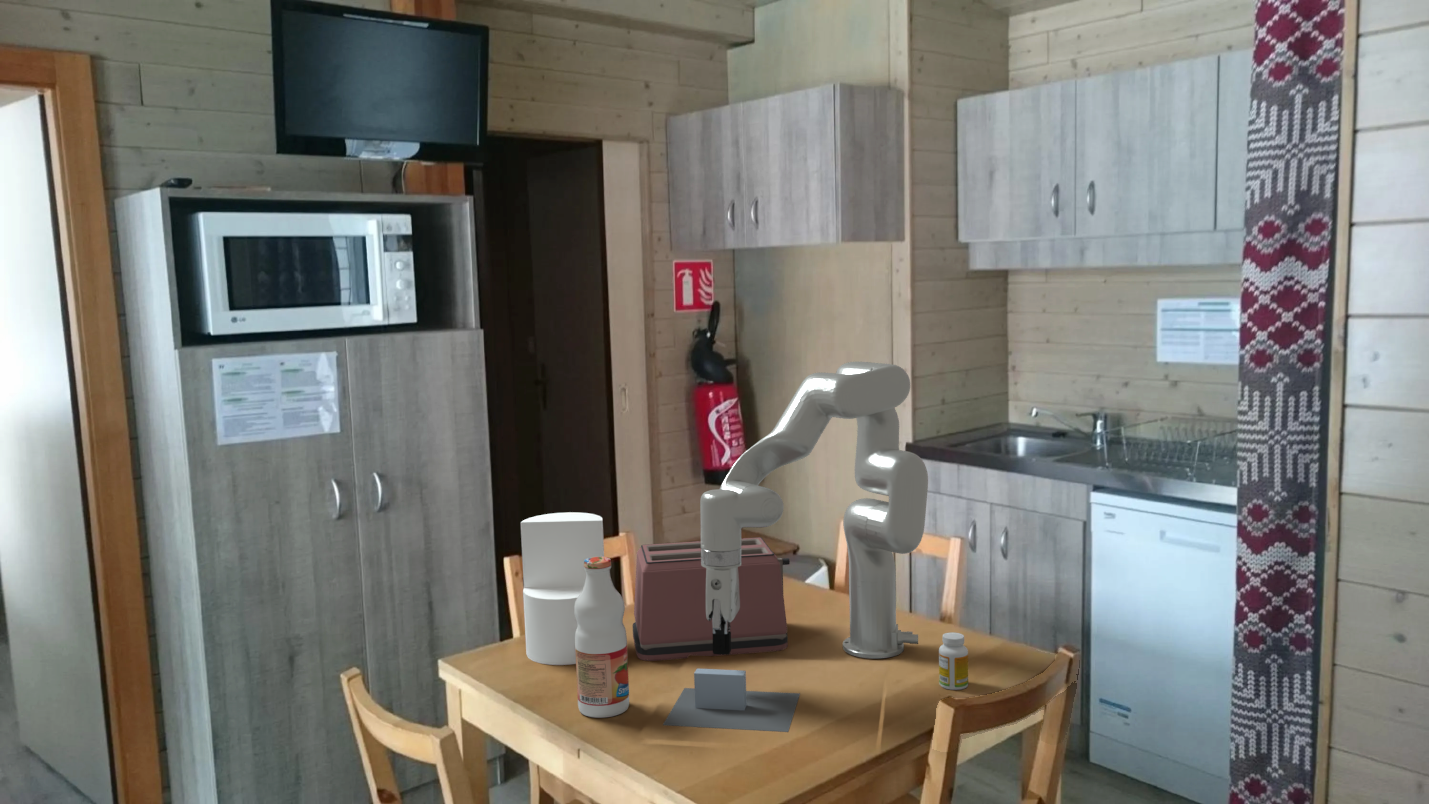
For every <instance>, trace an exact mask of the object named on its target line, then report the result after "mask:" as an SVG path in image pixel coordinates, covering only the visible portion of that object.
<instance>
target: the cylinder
mask: <svg viewBox="0 0 1429 804" xmlns="http://www.w3.org/2000/svg"><path fill="white" fill-rule="evenodd" d="M603 522H604V521H603V517H602V516H601V515H598V514H595V513H588V512H573V511H572V512H571V511H569V512H554V513H552V512H551V513H547V514H546V513H544V514H541V515H535V516H532V517H528V518H526V519H524V520H523V519H522V521H520V538H521V540H520V542H521V558H522V561H521V562H522V575H523V576H522V577H523V580H522V581H523V589H522V595H523V614H524V633H525V634H524V636H525V650H526V651H525V653H526V656H527V658H528V659H529V660H531V661H532V662H535V663H538V664H542V665H550V666H552V665H553V666H564V665H565V666H567V665H576V652H575V632H576V629H577V626H578V623H577V620H576V617H575V612H574V606H575V601H576V599H577V598H578V596H579V595H580V593H581V592H582V590H583V587H584V584H585V580H586V571H585V569H584V561H585V560H586V559H588V558H591V557H605V545H604V543H605V542H604V523H603Z"/></svg>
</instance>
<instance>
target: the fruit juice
mask: <svg viewBox="0 0 1429 804" xmlns="http://www.w3.org/2000/svg"><path fill="white" fill-rule="evenodd" d="M611 568H612V560H611V558H610V557H607V556H604V557H591V558H588V559H586V560H585V561H584V569H585V571H586V580H585V584H584V587H583V590H582V592H581V593H580V595H579V596H578V598H577V599H576V601H575V606H574V612H575V617H576V620H577V623H578V626H577V629H576V632H575V652H576V664H575V668H576V669H575V670H576V690H577V707H578V710H579V712H580V714H581V715H584V716H586V717H589V718H596V719H598V718H602V719H603V718H610V717H611V718H612V717H615V716H619V715H621V714H623V713H625V712H626V711H627V710H628V708H629V706H630V684H629V682H630V680H629V660H628V638H627V630H626V627H625V625H624V622H623V619H624V615H625V609H626V607H625V600H624V599H623V597H622V595H621V594H620V593H619V591H618V590H617V589H616V587H615V586H614V583H613V580H612V578H611Z"/></svg>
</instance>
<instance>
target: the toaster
mask: <svg viewBox="0 0 1429 804" xmlns="http://www.w3.org/2000/svg"><path fill="white" fill-rule="evenodd" d="M790 564H791V562H790V558H789V557H785V558H782V557H778V556H777V555H776V554H775V553H774V551H772V550H771V548H770V547H769V546H768V544H767V543H766V542H765V540H764V539H763V537H761V536H759V537H744V538H742V537H741V566H739V567H738V574H739V593H740V609H739V611H738V613H737V615H736V616H735V618H734V619H733V621H731V629H730V631H731V652H730V654H729V655H728V656H730V655H746V654H756V653H769V652H770V653H771V652H780V651H784V650H785V649H786V648H788V646H789V645H788V644H789V641H788V640H789V639H788V637H789V636H788V623H787V615H786V606H785V597H784V596H785V595H784V570H783V569H784V565H785V566H786V565H790ZM635 565H636V567H635V583H634V584H635V587H634V607H633V615H634V616H633V617H634V622H633V623H632V638H633V643H634V647H635V648H634V649H635V653H636V657H637V658H638V659H639V660H642V661H645V662H655V661H656V662H657V661H668V660H680V659H688V658H689V656H696V657H697V656H700V657H718V656H719V657H721V656H723V655H722V654H714V653H713V625H712V619H711V621H709V620H707V618H706V568H705V567H703V566H701V540H696V541H683V542H665V543H651V544H642V545H641V546H640V547H639V549H638V550H637V552H636V564H635Z"/></svg>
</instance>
